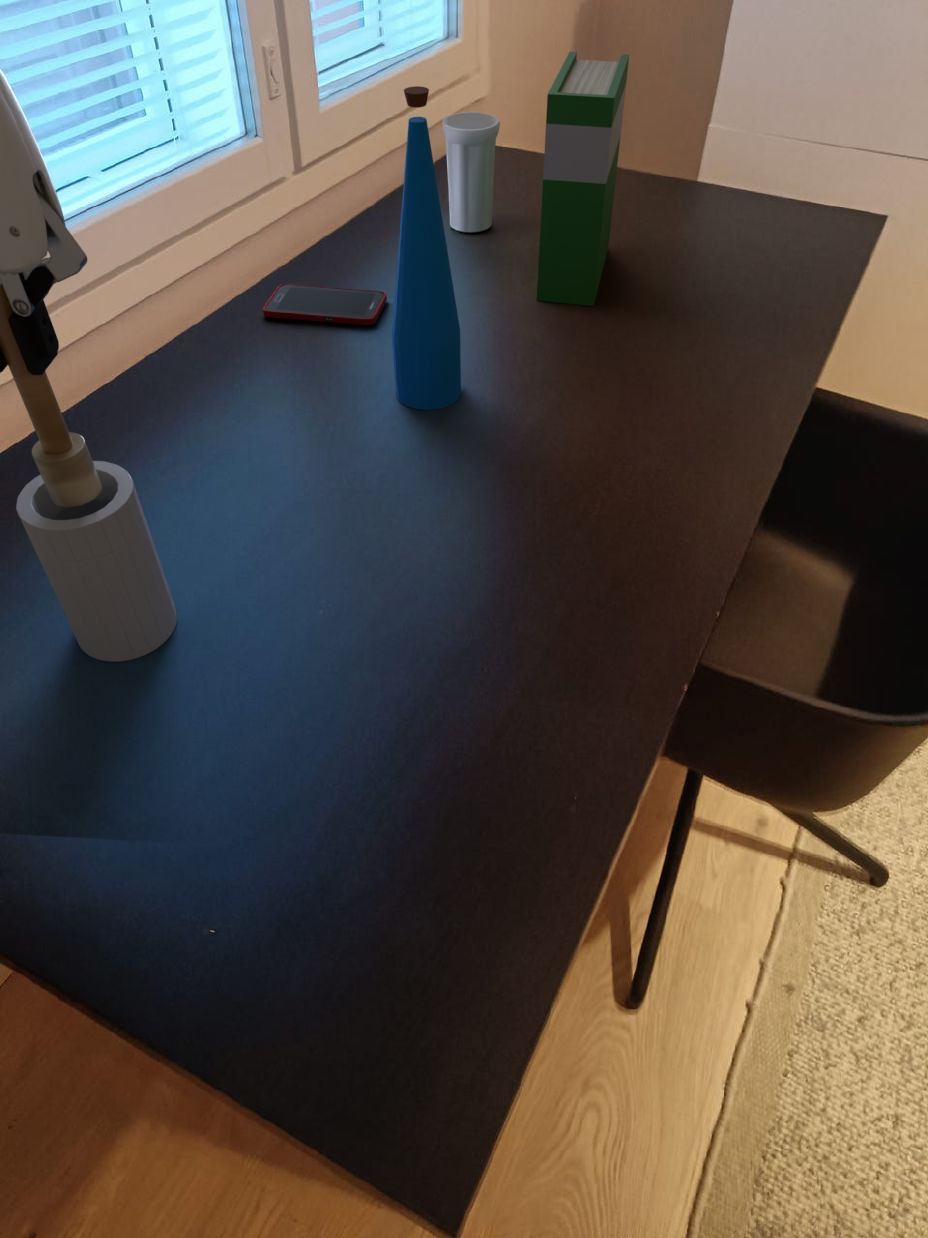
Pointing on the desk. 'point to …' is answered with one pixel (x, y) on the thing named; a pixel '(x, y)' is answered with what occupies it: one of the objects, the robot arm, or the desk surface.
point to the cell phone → (325, 304)
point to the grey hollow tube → (102, 566)
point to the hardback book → (579, 177)
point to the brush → (49, 428)
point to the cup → (470, 168)
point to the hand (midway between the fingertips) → (24, 361)
